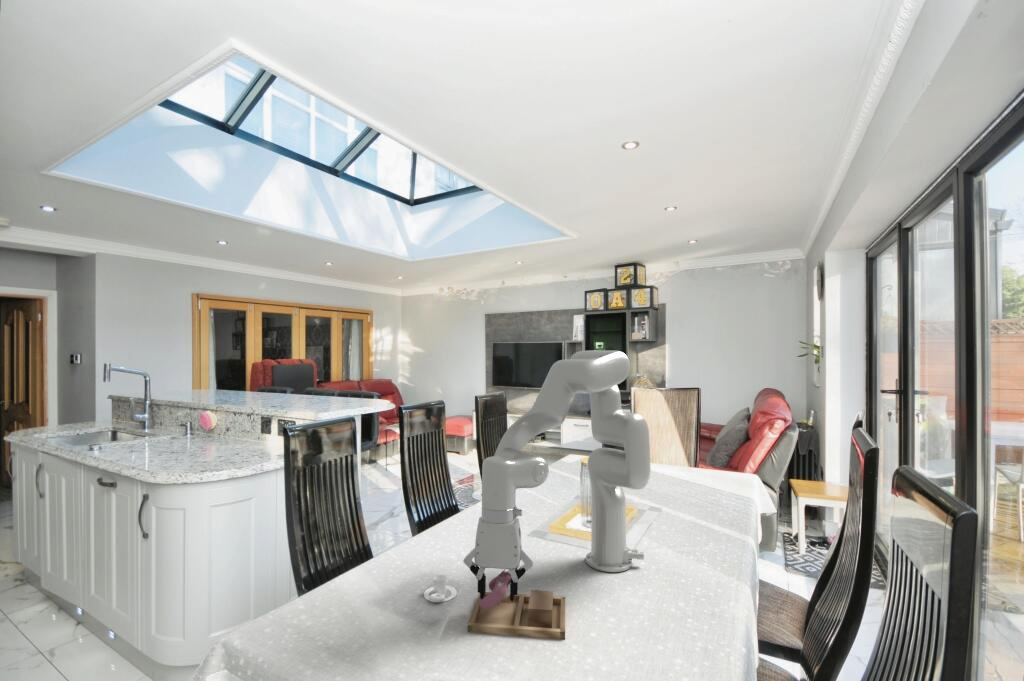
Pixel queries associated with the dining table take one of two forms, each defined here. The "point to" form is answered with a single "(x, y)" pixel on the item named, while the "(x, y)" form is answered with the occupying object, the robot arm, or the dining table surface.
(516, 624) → the oak organiser tray
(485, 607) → the video game controller
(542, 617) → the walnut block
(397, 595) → the dining table surface
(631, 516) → the dining table surface
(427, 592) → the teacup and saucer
